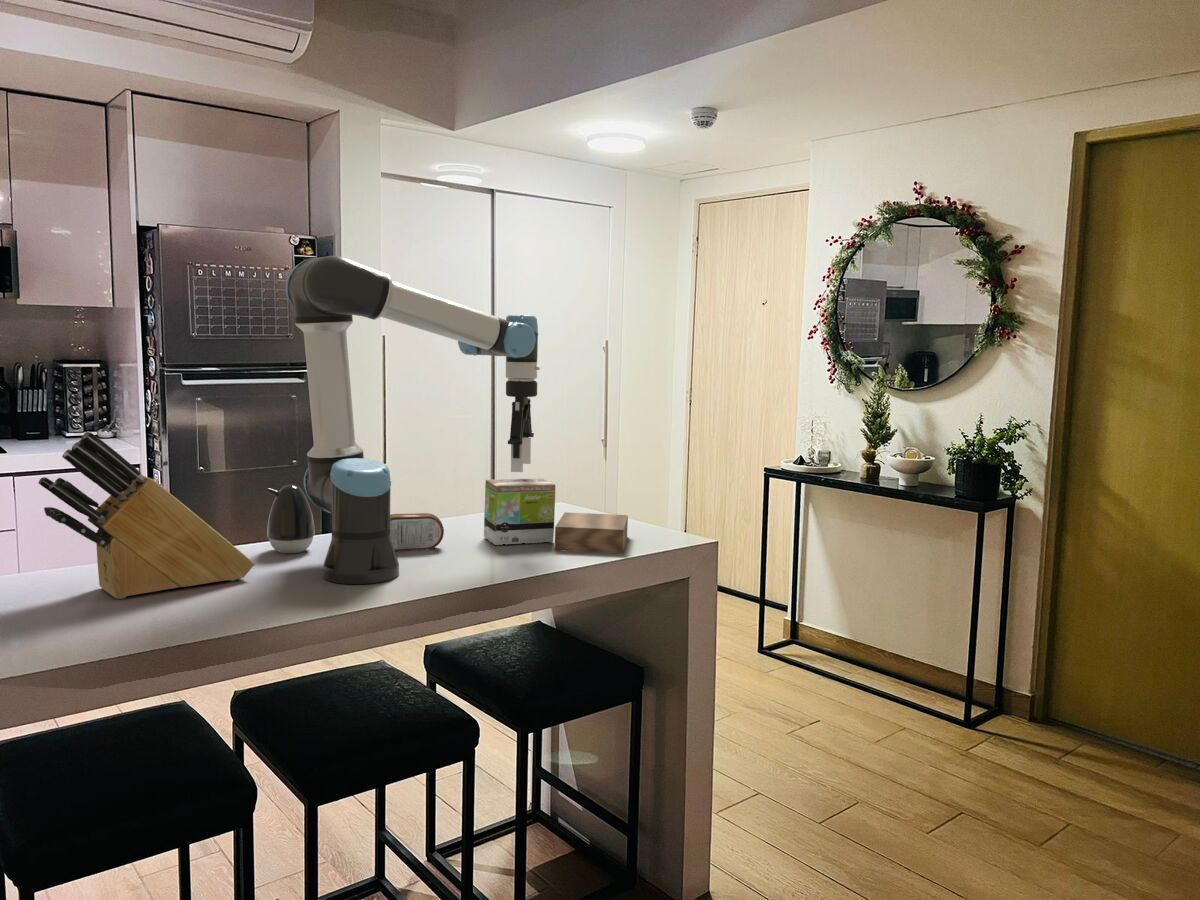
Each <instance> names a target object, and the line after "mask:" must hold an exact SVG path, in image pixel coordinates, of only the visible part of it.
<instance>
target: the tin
mask: <svg viewBox="0 0 1200 900" xmlns="http://www.w3.org/2000/svg"><path fill="white" fill-rule="evenodd" d="M444 534H445V529H444V526H443V523H442V521H441V520H440V518H439V517H438V516H437V515H434V514H433V513H427V512H424V513H419V512H417V513H393V514H390V538H391V541H392V544H393V547H394V550H395V552H402V551H407V550H408V551H426V550H425V549H429V550H433V549H434V548H436V547H437V546H439V544H440V543H441V542H442V540H443V539H444V536H445V535H444ZM422 549H423V550H422Z"/></svg>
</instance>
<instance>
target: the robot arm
mask: <svg viewBox="0 0 1200 900" xmlns="http://www.w3.org/2000/svg"><path fill="white" fill-rule="evenodd" d="M285 293H286V297H287V299H288V301H289V303H290V305H291V306H292V307H293V313H294V325H295V326H296V327H297V328H298V329H300V331H302V333H303V339H304V340H303V341H304V351H305V361H306V373H307V374H306V375H307V382H308V383H307V385H308V394H309V397H308V398H309V406H310V407H309V408H310V417H311V419H310V420H311V429H312V438H313V440H312V441H313V446H312V447H311V449H310V450H309V451H308V452H307V453H306V455H307V468H306V471H305V474H304V476H303V488H304V491H305V494H306V495H307V496H306V497H307V499H309V500H310V501H311V503H312V504H313V505H314V506H315V507H317V508H318V509H320V510H322V511H323V512H325V513H329V514H331V541H330V543H329V547H328V550H327V553H326V555H325V559H324V562H323V566H322V576H323V577H322V578H324V579H325V581H329V582H332V583H336V584H337V583H338V584H343V585H344V584H345V585H365V584H376V583H383V582H387V581H390V580H393V579H395V578H396V577H398V576H399V575H400V563H399V559H398V557H397V554H396V551H395V550H394V547H393V544H392V541H391V538H390V515H391V490H392V489H391V486H392V480H391V471H390V468H389V467H388V465H386V464H385V463H384V462H382V461H379V460H375V459H370V458H365V457H364V449H363V448H362V447H361V446H360V445H359V444H357V442H356V436H355V434H356V433H355V423H354V411H353V399H352V386H351V375H350V373H351V372H350V361H349V351H348V350H349V349H348V338H347V330H348V329H349V327H351V325H352V324H353V323H354V319H353V316H357V317H358V316H359V317H363V318H367V319H370V320H373V321H374V320H377V319H380V318H383V319H387V320H390V321H394V322H397V323H400V324H403V325H405V326H406V325H407V326H410V327H412V328H415V329H419V330H422V331H425V332H429V333H431V334H436V335H438V336H441V337H445V338H447V339H451V340H454V341H457V345H458V347H459V349H460V351H461V353H462V354H463V355H467V356H468V355H469V356H474V357H475V356H491V357H492V356H494V357H505V379H507V380H506V381H505V395H506V396H507V397H511V398H513V397H514V401H512V403H511V422H510V433H509V439H508V440H507V445H510V472H511V473H523V472H524V468H523V467H524V465H530V464H531V461H532V460H531V457H532V456H531V455H532V453H531V451H532V449H531V448H532V447H531V446H532V445H531V443H532V438H534V435H535V433H534V432H533V430H532V427H533V426H532V415H531V412H532V411H531V408H532V407H531V398H534V397H536V396H538V382H537V380H536V379H537V378H538V371H539V370H540V369H541V367H540V366H539V365H538V345H539V343H538V341H539V325H538V319H537V317H536V316H535V315H534V314H532V315H531V314H508V315H506V317H505V318H506V319H504V318H500V317H497V316H495V315H492V314H489V313H487V312H484V311H481V310H477V309H474V308H472V307H469V306H466V305H463V304H461V303H457V302H454V301H451V300H449V299H445V298H443V297H439V296H436V295H434V294H430V293H428V292H425V291H423V290H420V289H416V288H414V287H410V286H407V285H404V284H401V283H399V282H396V281H393V280H392V278H391V276H390V274H388V273H385V272H382V271H379V270H377V269H375V268H372V267H369V266H367V265H365V264H362V263H359V262H358V261H354V260H352V259H349V258H346V257H343V256H338V255H329V256H328V255H327V256H321V257H312V258H308V259H304V260H303V261H301V262H300V263H298V264H297V265H295V266H294V267H293V268H292V269H291V271H290V272H289V274H288V276H287V279H286V282H285Z"/></svg>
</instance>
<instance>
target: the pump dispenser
mask: <svg viewBox="0 0 1200 900" xmlns="http://www.w3.org/2000/svg"><path fill="white" fill-rule="evenodd" d="M265 492H266V494H269V495H272V496H274V497H275V498H274V500H273V503H272V505H271V508H270V511H269V516H268V522H267V529H266V530H267V531H266V536H267V538H268V541H269V543H270V545H271V546H272V548H273V549H274V550H275V551H277V552H279V553H280V552H281V553H280V554H286V553H292V554H299V553H302V552H304V551H305V550H307V549H309V547H310V546H311V545H312V542H313V540H314V536H315V533H316V532H315V531H316V530H315V529H316V528H315V523H314V517H313V512H312V509H311V507H310V503H309V501H308V497H307V496H306V495H305V494H306V493H304V491H303V490H302V488H301V487H299V486H297V485H295V484H287V485H284V486H282V487H281V488H280V489H279V490H276V489H273V488H271V487H267V488H266V490H265Z"/></svg>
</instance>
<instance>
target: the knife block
mask: <svg viewBox="0 0 1200 900" xmlns="http://www.w3.org/2000/svg"><path fill="white" fill-rule="evenodd" d="M62 458H63V459H64V460H66V462H68V463H69V464H71V465H72V467H74V468H75V469H76V470H77V471H78V472H80V474H82V475H84V477H87V479H89V480H90V481H91V482H93V483H94V484H96V485H97V486H99V487H100V488H101V489H102V490H103V491H105V492H106V493H107V494H109V495H110V496H108V498H106V499H105V500H104V501H103V502H102V503H101V504H100V505H99V503H98V502H97V501H96V500H94V499H93V498H91V497H90V496H88V495H87V494H86V493H84V492H83V491H81V490H80V489H79V488H77V487H76V486H75V485H74V484H72V483H71V482H69V481H68V480H66V479H64V478H61V477H58V478H57V479H55V481H52V480H51V479H49V478H48V477H46V476H43V477H41V478H40V479H39V480H38V482H37V483H38V485H40V486H41V487H42V488H44V489H46V490H47V491H49V492H50V493H51V494H53V495H54V496H55V497H57V498H58V499H59V500H60V501H62V502H64V503H65V504H66V505H67V506H69V507H71V508H72V509H74V510H75V511H76V512H78V513H80V514H82V515H84V516H86V517H88V518H87V521H88V522H89V523H90V524H92V525H93V526H94V527H95V528H97V531H94V530H93V529H91V528H89V526H87V525H86V524H84V523H83V522H81V521H79V519H76V518H74V517H73V516H71V514H70V515H69V514H67V513H66V512H64V511H63V510H60V509H59V508H56V507H50V506H46V507H43V510H44V514H45V516H46V517H49V518H51V519H52V520H53V521H55V522H57V523H58V524H63V525H65V526H67V527H68V528H70V530H72V531H74V532H75V533H77V534H79V535H80V536H83V537H85V538H86V540H90V541H91V542H93V543H94V544H96V558H97V573H98V584H99V587H100V588H101V589H103V590H104V591H105V592H107V593H108V594H109V595H111V596H112V597H113V598H116V599H119V600H122V599H126V598H127V597H129V596H135V595H141V594H147V593H154V592H159V591H164V590H171V589H176V588H177V589H178V588H184V587H191V586H193V587H194V586H198V585H205V584H210V583H211V584H212V583H217V582H218V583H219V582H223V581H228V582H233V581H236V580H237V579H242V578H245V577H246V576H247V574H248V573H249V572H251V570H252V569H253V567H254V566H255V563H254V561H252V560H251V558H249V557H248V556H247V555H246V554H244V553H243V552H242V551H241V550H240V549H238V548H237V547H236V546H235V545H233V544H232V543H231V542H230V541H228V539H226V538H225V537H224V536H222V535H221V534H220V533H219V532H218V531H217V530H215V528H213V527H212V526H211V525H209V524H208V523H207V522H205V520H203V519H202V518H201V517H199V516H198V515H197V514H196V513H195V512H193V511H192V510H191V509H190V508H189V507H187V505H185V504H184V503H182V502H181V501H180V500H179V499H178V498H177V497H175V496H174V495H173V494H171V493H170V492H169V491H168V490H167V489H166V488H164V487H163V486H162V485H161V484H159V482H157V481H156V480H155V479H153V478H151V477H148V476H145V475H143V474H142V473H141V472H140V471H139V469H137V468H136V467H135V466H134V465H133V464H132V463H130V462H129V461H128V460H127V459H125V457H123V456H122V455H121V454H119V453H118V452H117V451H115V450H114V449H113V448H112V447H111V446H110V445H108V444H107V443H105V441H103V440H102V439H100V438H99V437H98V436H96V435H95V434H94V433H92V432H91V431H86V432H85V433H83V434H82V436H81V439H79V441H77V442H75V443H74V444H73V445H72V447H71V448H70V449H69V448H68V449H67V450H65V451H64V453H63V454H62Z"/></svg>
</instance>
